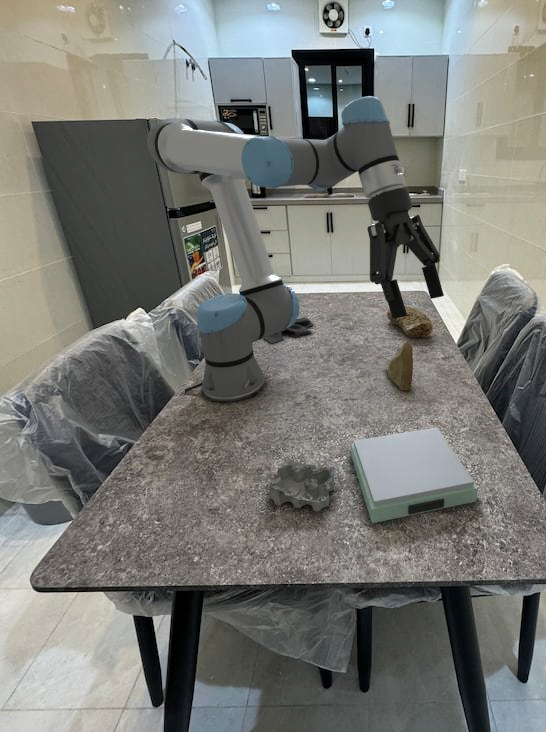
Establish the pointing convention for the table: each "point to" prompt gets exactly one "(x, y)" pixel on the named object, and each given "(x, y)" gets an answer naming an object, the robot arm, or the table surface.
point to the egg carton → (302, 485)
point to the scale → (410, 474)
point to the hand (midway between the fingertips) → (419, 306)
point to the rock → (402, 367)
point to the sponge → (413, 323)
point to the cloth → (292, 330)
